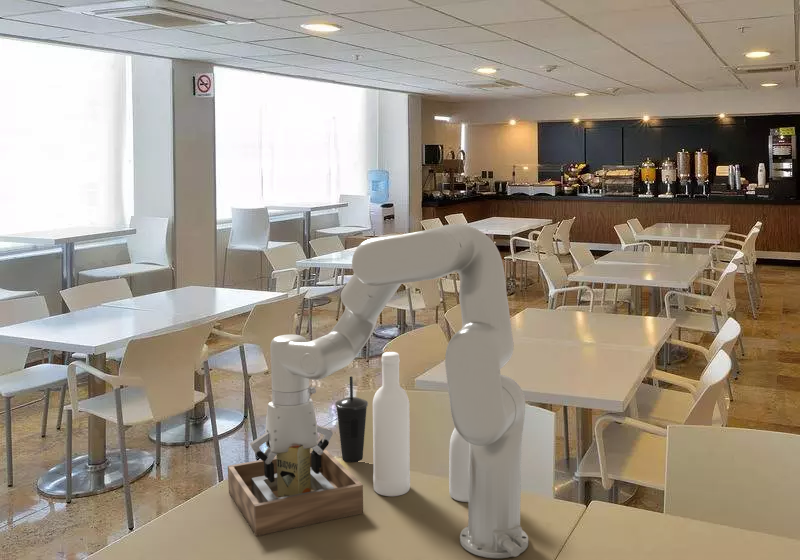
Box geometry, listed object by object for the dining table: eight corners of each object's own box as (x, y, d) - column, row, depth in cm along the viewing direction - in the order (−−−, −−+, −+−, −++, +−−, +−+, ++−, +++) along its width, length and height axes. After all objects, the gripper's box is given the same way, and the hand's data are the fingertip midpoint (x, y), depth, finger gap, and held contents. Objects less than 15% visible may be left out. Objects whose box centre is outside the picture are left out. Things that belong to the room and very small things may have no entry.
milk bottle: (473, 506, 162) (474, 412, 159) (442, 497, 167) (442, 405, 163) (492, 493, 168) (493, 402, 165) (461, 484, 173) (462, 396, 170)
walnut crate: (363, 513, 159) (362, 484, 158) (256, 536, 150) (255, 506, 149) (325, 474, 179) (325, 448, 178) (228, 492, 170) (227, 465, 169)
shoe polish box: (298, 504, 161) (297, 448, 159) (278, 500, 163) (276, 445, 161) (311, 495, 166) (309, 440, 164) (290, 491, 168) (288, 437, 166)
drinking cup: (374, 456, 189) (373, 375, 186) (356, 467, 183) (355, 383, 180) (348, 450, 193) (347, 370, 190) (330, 460, 187) (328, 378, 184)
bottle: (367, 493, 169) (365, 356, 164) (382, 479, 176) (381, 347, 171) (401, 499, 166) (400, 359, 161) (415, 485, 173) (415, 351, 168)
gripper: (324, 385, 168) (326, 462, 171) (244, 396, 161) (247, 476, 163) (337, 395, 161) (339, 474, 164) (253, 407, 154) (257, 490, 157)
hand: (293, 475), depth 164 cm, fingers open, 9 cm apart
